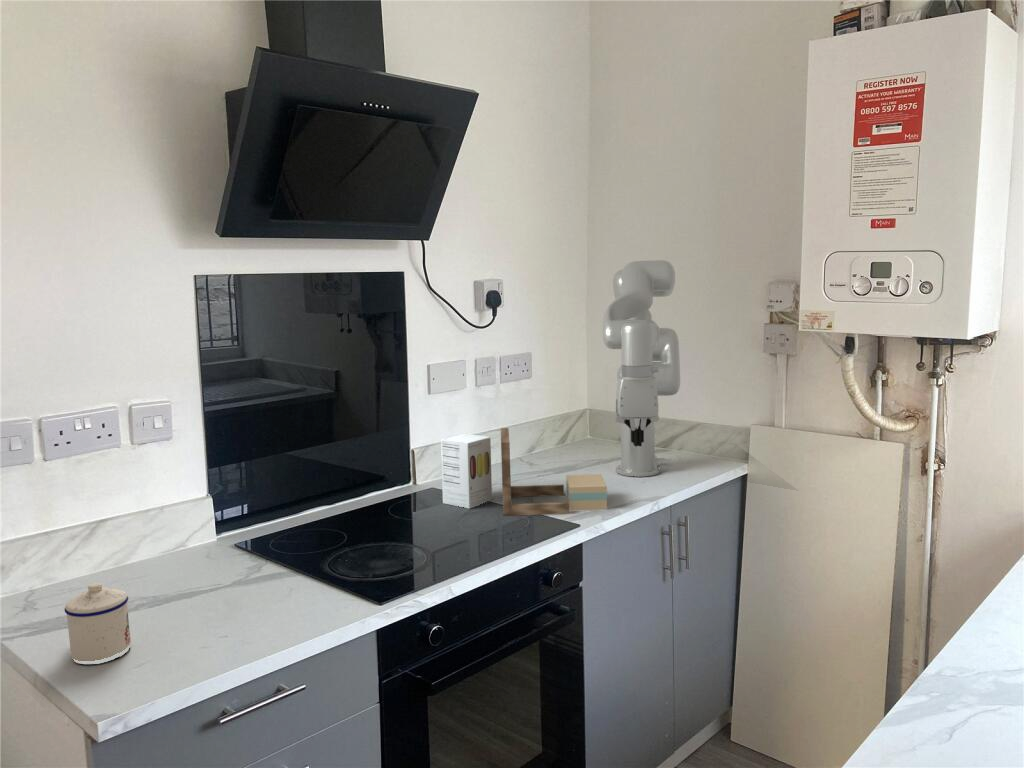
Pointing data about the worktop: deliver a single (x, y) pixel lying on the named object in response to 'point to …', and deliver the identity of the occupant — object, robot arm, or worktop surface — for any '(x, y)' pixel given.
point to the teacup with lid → (98, 623)
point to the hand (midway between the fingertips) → (637, 445)
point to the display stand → (526, 489)
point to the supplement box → (466, 470)
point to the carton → (586, 492)
